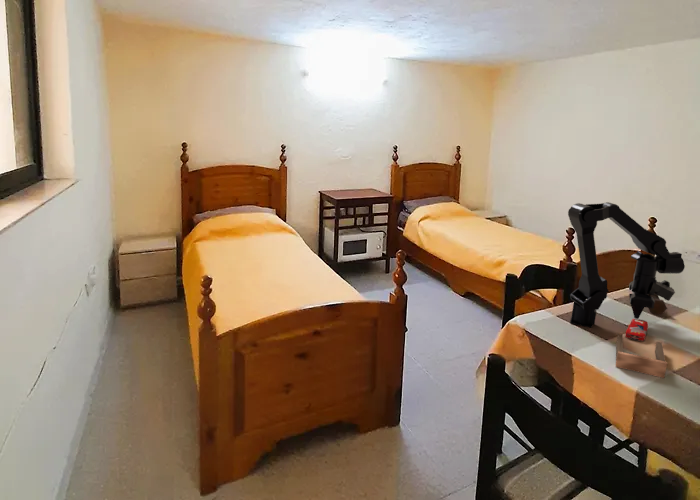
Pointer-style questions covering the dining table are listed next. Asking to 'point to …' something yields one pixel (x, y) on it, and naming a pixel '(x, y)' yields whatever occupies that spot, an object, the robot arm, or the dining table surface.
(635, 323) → the race car
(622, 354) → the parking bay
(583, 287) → the robot arm
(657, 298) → the bolt
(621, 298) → the dining table surface
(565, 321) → the dining table surface
